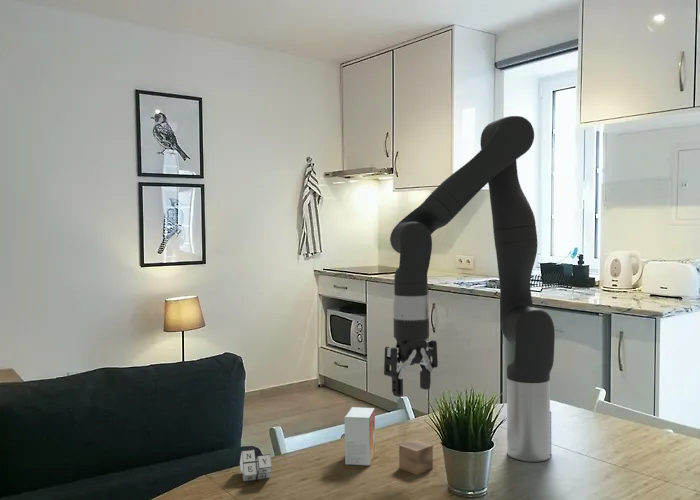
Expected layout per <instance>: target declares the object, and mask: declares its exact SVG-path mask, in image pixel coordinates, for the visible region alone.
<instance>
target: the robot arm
mask: <svg viewBox="0 0 700 500" xmlns="http://www.w3.org/2000/svg"><path fill="white" fill-rule="evenodd" d="M534 129H535V128H534V127H533V125H532V123H531V122H530V121H529V119H528V118H526V117H524V116H522V115H517V114H516V115H515V114H514V115H508V116H507V115H506V116H504V117H501V118H499V119H497V120H495V121H494V120H493V121H492V122H490V123H488V124H487V125H486V126H485V127H484V128H483V130H482V132H481V136H480V150H479V151H478V152H477V153H476V154H475V155H474V156H473V157H472V158H471V159H470V160H468V162H466V163H465V164H463V165H462V166H461V167H460V168H459V169H457V170H456V171H454V172H453V173H452V174H450V176H448V177H447V178H445V180H444V181H442V182H441V183H440V184H439V185H438V186H437V187H436V188H435V189H434V190H433V191H432V192H431V193H430V195H428V196H427V197H426V198H425V199H424V201H423V202H422V203H421V204H420V205H418V206H417V207H416V208H415V209H413V210H412V211H411V212H410V213H409V214H407V215H406V216H404V217H403V218H402V219H401V220H400V221H399V222H398V223H397V224H396V225H395V226H394V228H393V229H392V230H391V233H390V236H389V238H390V239H389V241H390V246H391V247H392V249H393V250H394V251H395V252H396V253H397V254H399V264H398V265H399V266H398V268H396V270H395V271H394V272H395V273H394V278H393V280H394V281H393V282H394V288H393V289H394V296H393V297H394V298H393V309H392V310H393V318H392V319H393V321H392V322H393V338H394V339H395V341H396V344H395V346H394V347H391V346H385V348H384V358H383V359H384V361H383V362H384V363H383V367H384V368H383V375H384V376H386V377H390V378H391V392H392V395H393V396H395V397H398V398H399V397H403V396H404V378H403V377H404V375H405V372H406V371H407V370H409V367H411V366H413V365H415V364H417V365H418V367H419V369H420V372H419V387H420V389H422V390H425V391H427V390H430V389H431V384H432V383H431V380H432V379H431V376H432V374H431V372H433V369H435V368H438V365H439V363H438V362H439V360H438V346H437V345H438V343H437V340H435V339H429V338H430V304H429V303H430V302H429V295H428V293H429V292H428V288H429V287H428V282H429V281H428V272H429V268H430V262H431V255H432V252H433V251H432V249H433V238H432V234H433V233H434V232H435V231H437V230H440V228H443V227H445V226H447V224H449V223H450V222H451V221H452V220H453V219H454V218H455V217H456V216H457V215H458V214H459V213H460V212H461V211H462V210H463V208H464V207H465V206H466V205H468V203H469V202H470V201H472V199H473V198H475V196H476V195H477V194H478V193H479V192H480V191H481V190H482V189H483V188H485V187H486V185H487V184H488V190H489V201H490V202H489V203H490V209H491V215H492V217H491V219H492V229H493V238H494V248H495V253H496V262H497V271H498V279H499V289H500V290H499V292H500V293H499V295H500V299H499V300H500V301H499V302H500V303H499V304H500V306H499V307H500V309H499V310H500V318H499V319H500V328H501V331H502V334H503V336H504V338H505V339H506V340H507V341H508V342H509V343H511V344H512V345H514V346H515V348H514V351H515V352H514V359H513V361H512V362H510V363H508V365H507V366H506V435H507V436H506V439H507V441H506V443H507V444H506V447H507V448H506V449H507V450H506V453H507V455H508V456H509V457H511V458H513V459H515V460H519V461H522V462H530V463H532V462H533V463H535V462H544V461H547V460H548V459H550V458H551V454H552V412H551V395H550V394H551V393H550V391H551V388H550V387H551V386H550V385H551V384H550V383H551V382H550V381H551V376H550V375H551V372H552V369H553V367H554V359H555V339H556V337H555V326H554V321H553V319H552V316H551V315H550V314H549V313H548V312H547V311H545V310H543V309H541V308H537V307H534V303H533V298H532V290H531V278H532V273H533V268H534V265H535V261H536V257H537V253H538V234H537V233H538V232H537V225H536V224H537V223H536V219H535V214H534V212H533V211H534V210H533V209H532V207H531V205H530V203H529V201H528V199H527V196H526V195H525V193H524V191H523V189H522V187H521V184H520V180H519V175H518V166H517V160H518V159H519V158H521V157H522V156H523V155H525V154H526V153H527V152H528V151H529V150H530V148H531V147H532V145H533V144H534V141H535V131H534Z"/></svg>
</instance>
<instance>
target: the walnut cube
mask: <svg viewBox="0 0 700 500" xmlns="http://www.w3.org/2000/svg"><path fill="white" fill-rule="evenodd" d="M398 448H399V449H398V453H399V454H398V455H399V456H398V457H399V458H398V459H399V461H398V462H399V464H398V465H399V469H401V470H403V471H405V472H408V473H411V474H413V475H420V474H423V473H425V472H428V471H430V470H433V469H434V467H433V465H434V462H433V461H434V452H433V451H434V446H433V445H432V444H430V443H427V442H424V441H420V440H417V439H414V440H413V439H412V440H410V441H407V442H405V443H401V444H399V447H398Z"/></svg>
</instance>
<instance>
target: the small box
mask: <svg viewBox="0 0 700 500" xmlns="http://www.w3.org/2000/svg"><path fill="white" fill-rule="evenodd" d="M375 410H376V408H374V407H359V406H357V407H356V406H355V407H354V406H352V407H350V409H349V410H348V412H347V414H346V415H345V416H344V418H343V419H344V460H345V463H344V464H345V465H347V466H348V465H351V466H353V465H354V466H370V465H371V464H372V461H373V459H374V457H375V454H376V423H375V422H376V411H375Z"/></svg>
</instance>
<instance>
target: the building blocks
mask: <svg viewBox="0 0 700 500" xmlns="http://www.w3.org/2000/svg"><path fill="white" fill-rule="evenodd" d="M239 468H240V475H241V476H242V482H249V481H250V482H252V481H258V480H259V481H260V480H266V479H267V480H268V479H270V477H271V474H272V469H273V463H272V457H271V454H261V455H257V456H256V449H254V448H253V449H247V450H241V453H240V459H239Z"/></svg>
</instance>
